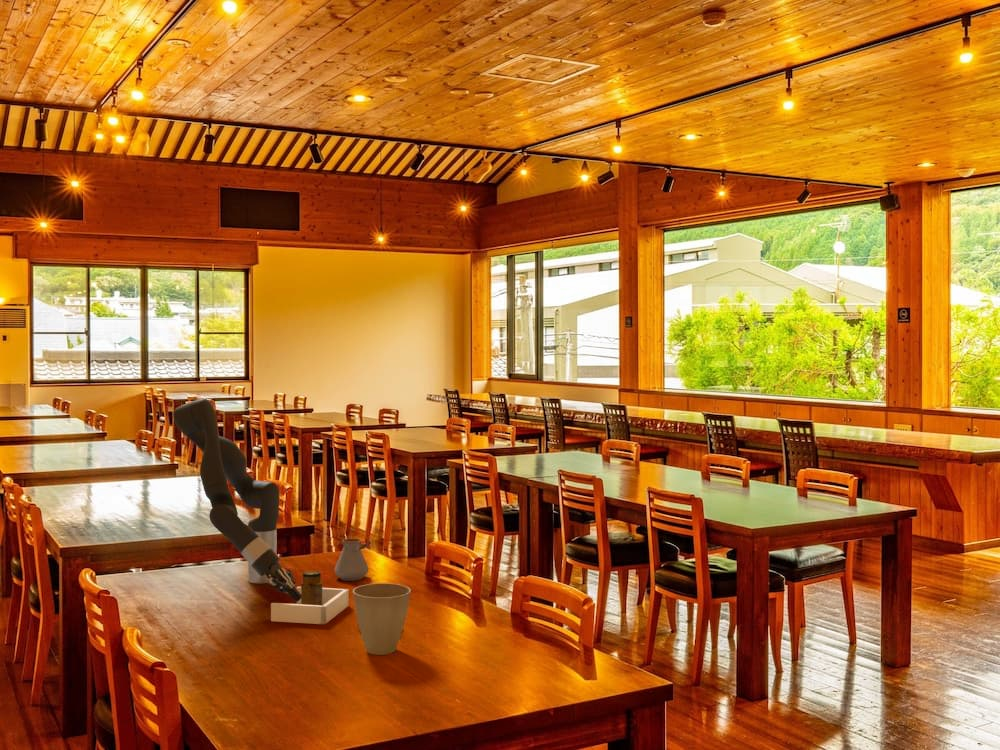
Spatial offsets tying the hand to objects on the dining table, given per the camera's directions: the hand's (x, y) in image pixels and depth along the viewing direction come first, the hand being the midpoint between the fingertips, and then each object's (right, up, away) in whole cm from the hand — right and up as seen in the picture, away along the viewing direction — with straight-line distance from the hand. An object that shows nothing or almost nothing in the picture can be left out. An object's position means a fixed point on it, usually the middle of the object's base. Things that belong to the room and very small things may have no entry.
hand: (299, 599), depth 295 cm
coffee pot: (+12, -3, +39) cm, 40 cm away
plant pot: (+28, -6, -35) cm, 46 cm away
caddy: (+3, -4, 0) cm, 5 cm away
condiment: (+4, -4, -1) cm, 6 cm away
